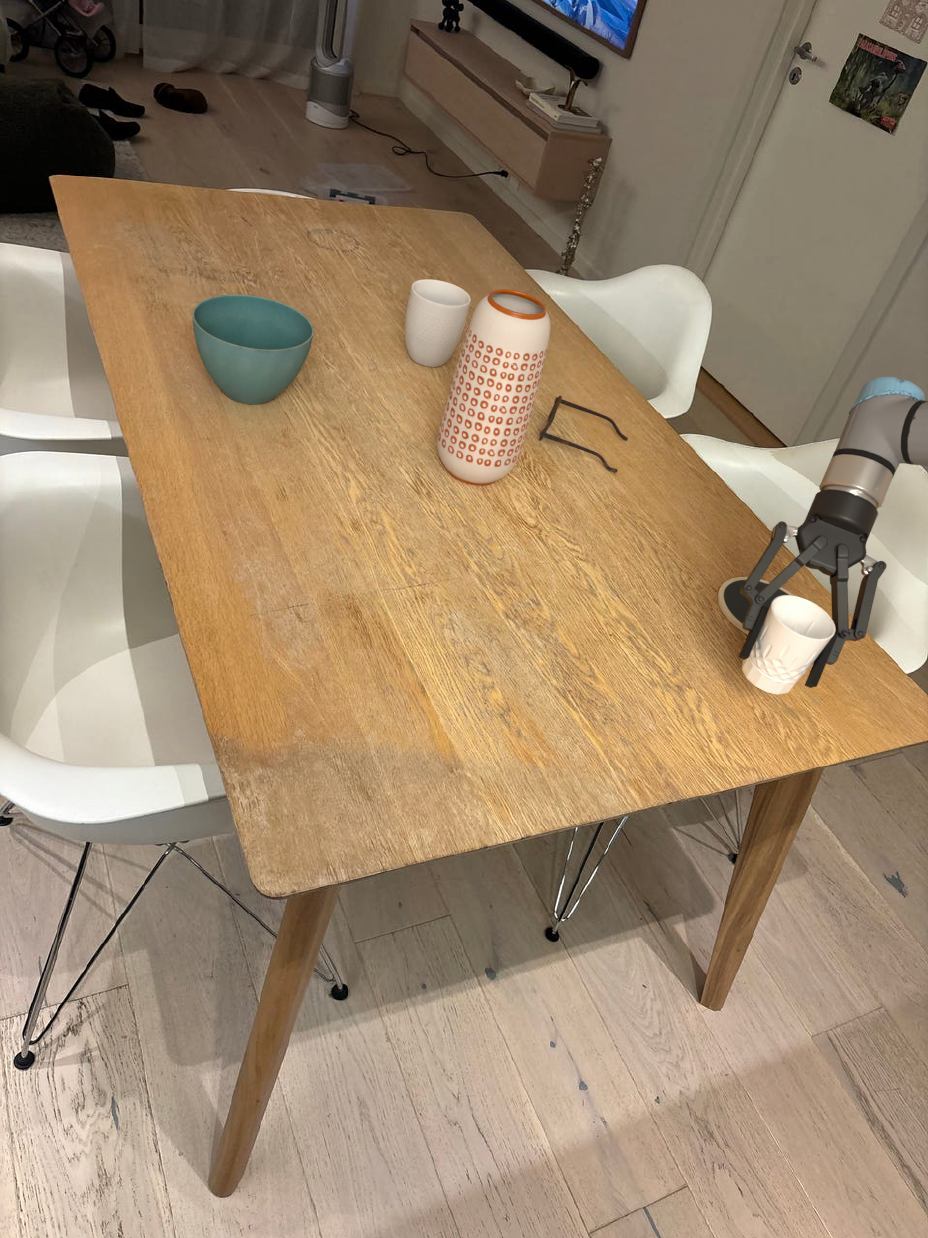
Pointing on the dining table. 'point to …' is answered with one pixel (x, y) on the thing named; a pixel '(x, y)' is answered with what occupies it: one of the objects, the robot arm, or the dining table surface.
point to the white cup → (787, 644)
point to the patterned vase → (494, 387)
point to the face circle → (741, 600)
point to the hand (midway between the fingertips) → (776, 671)
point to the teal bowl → (251, 345)
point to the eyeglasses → (557, 439)
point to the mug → (435, 321)
